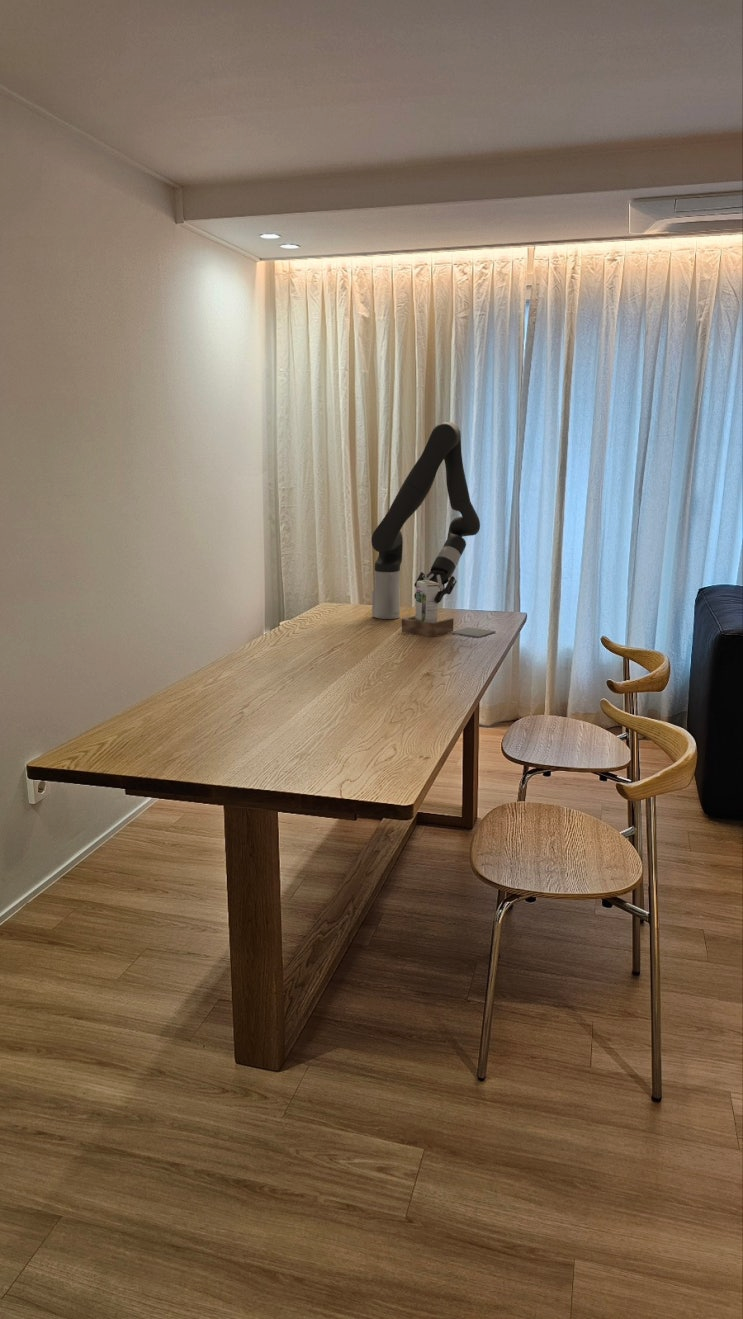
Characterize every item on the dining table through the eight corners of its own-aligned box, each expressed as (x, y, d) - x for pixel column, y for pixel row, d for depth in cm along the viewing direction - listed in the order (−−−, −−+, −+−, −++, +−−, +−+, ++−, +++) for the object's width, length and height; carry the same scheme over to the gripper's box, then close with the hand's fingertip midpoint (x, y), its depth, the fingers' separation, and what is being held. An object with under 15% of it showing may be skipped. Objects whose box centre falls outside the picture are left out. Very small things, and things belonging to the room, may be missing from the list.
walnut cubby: (401, 632, 314) (401, 619, 313) (421, 626, 323) (421, 613, 322) (433, 637, 306) (433, 623, 305) (453, 631, 315) (453, 618, 314)
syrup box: (414, 622, 315) (415, 580, 311) (429, 621, 317) (430, 579, 314) (422, 626, 310) (423, 583, 306) (437, 624, 312) (439, 582, 309)
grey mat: (450, 633, 311) (450, 632, 311) (467, 628, 320) (467, 627, 320) (478, 638, 305) (478, 636, 304) (495, 632, 313) (495, 631, 313)
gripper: (424, 553, 319) (404, 591, 313) (460, 557, 311) (439, 596, 304) (432, 567, 324) (413, 604, 318) (467, 571, 316) (448, 609, 310)
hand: (426, 600), depth 311 cm, fingers closed on syrup box, 7 cm apart
